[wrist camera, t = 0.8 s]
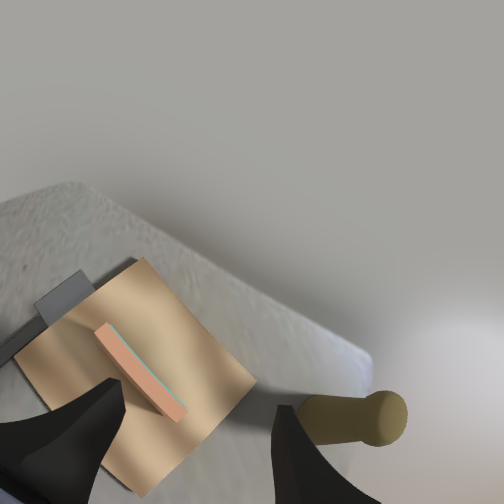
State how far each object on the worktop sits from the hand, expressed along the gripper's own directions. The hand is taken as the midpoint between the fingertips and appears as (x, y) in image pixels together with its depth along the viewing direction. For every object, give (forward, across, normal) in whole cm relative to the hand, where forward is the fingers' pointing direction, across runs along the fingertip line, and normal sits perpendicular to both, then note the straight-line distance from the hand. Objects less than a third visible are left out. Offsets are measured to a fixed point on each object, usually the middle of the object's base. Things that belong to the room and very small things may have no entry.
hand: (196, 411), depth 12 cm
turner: (+9, +16, +3) cm, 19 cm away
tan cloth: (+10, +7, +7) cm, 14 cm away
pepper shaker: (+14, -11, +14) cm, 22 cm away
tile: (+9, +7, +6) cm, 13 cm away
